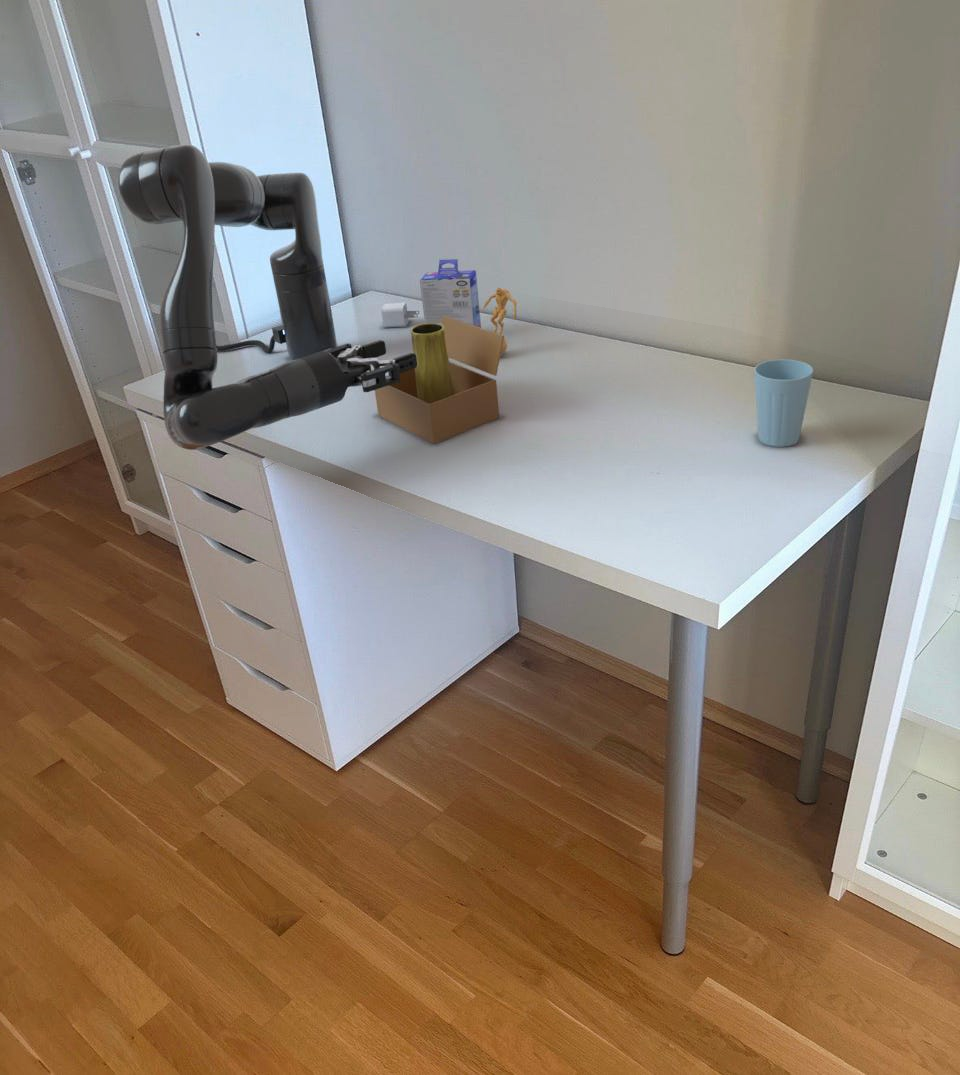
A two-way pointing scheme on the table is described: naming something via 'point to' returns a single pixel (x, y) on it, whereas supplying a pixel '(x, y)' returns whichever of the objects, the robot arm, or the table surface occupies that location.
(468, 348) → the flap
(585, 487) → the table surface
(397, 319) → the usb wall charger
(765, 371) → the cup
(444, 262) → the ink cartridge box
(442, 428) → the carton
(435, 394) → the vase
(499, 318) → the figurine
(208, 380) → the robot arm
